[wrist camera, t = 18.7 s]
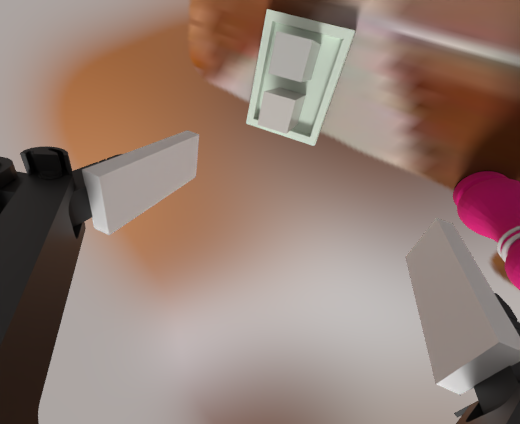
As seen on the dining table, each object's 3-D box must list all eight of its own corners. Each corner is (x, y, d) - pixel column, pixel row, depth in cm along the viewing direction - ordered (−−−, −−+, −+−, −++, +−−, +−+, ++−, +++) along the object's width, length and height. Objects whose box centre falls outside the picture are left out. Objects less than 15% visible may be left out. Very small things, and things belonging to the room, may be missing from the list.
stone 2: (273, 115, 37) (257, 124, 32) (279, 87, 35) (264, 91, 30) (298, 123, 37) (286, 133, 31) (306, 94, 35) (295, 100, 29)
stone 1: (283, 72, 34) (268, 73, 28) (291, 37, 32) (276, 31, 26) (311, 79, 33) (301, 82, 28) (321, 44, 31) (312, 39, 26)
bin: (272, 12, 32) (267, 9, 30) (355, 32, 30) (355, 30, 28) (251, 120, 40) (246, 123, 38) (316, 142, 38) (314, 146, 36)
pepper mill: (438, 184, 35) (506, 286, 19) (502, 156, 31) (656, 254, 15) (461, 222, 37) (542, 347, 20) (525, 200, 33) (688, 332, 16)
